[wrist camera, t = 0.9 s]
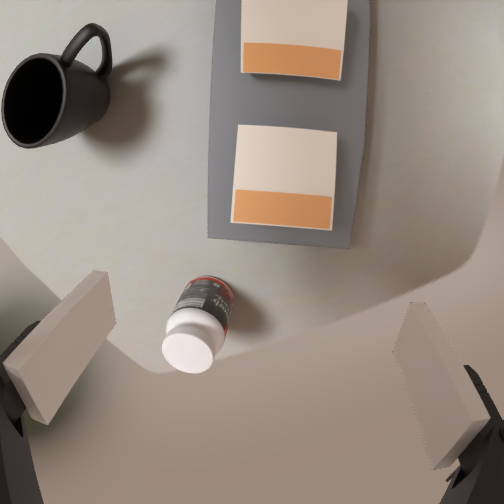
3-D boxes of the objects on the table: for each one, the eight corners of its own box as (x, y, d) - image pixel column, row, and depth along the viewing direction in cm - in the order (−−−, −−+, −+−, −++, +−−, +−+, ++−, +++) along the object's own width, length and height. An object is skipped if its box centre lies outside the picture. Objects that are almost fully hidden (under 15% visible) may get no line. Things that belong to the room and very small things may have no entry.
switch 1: (245, -15, 17) (241, -19, 15) (342, -8, 17) (348, -11, 15) (244, 67, 22) (240, 72, 20) (335, 75, 21) (340, 80, 20)
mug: (163, 70, 26) (118, 55, 18) (86, 152, 30) (29, 169, 21) (118, 22, 24) (66, -1, 15) (49, 103, 28) (-10, 108, 19)
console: (235, -83, 18) (227, -110, 13) (355, -75, 18) (365, -100, 13) (218, 219, 32) (206, 240, 27) (342, 229, 31) (353, 251, 26)
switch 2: (241, 133, 24) (237, 124, 21) (331, 140, 24) (337, 132, 21) (234, 222, 25) (230, 222, 22) (326, 229, 24) (332, 230, 22)
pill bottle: (240, 313, 36) (228, 375, 27) (194, 321, 37) (171, 380, 28) (225, 269, 34) (206, 325, 25) (177, 279, 35) (145, 333, 26)
